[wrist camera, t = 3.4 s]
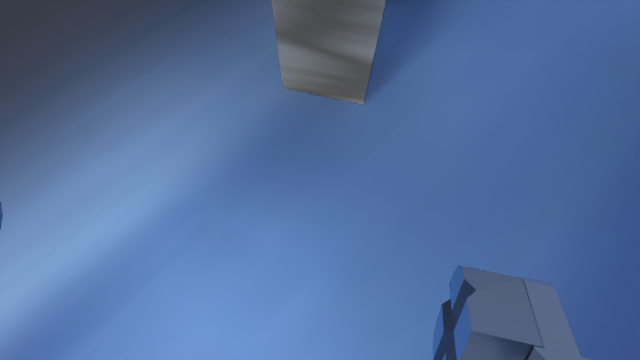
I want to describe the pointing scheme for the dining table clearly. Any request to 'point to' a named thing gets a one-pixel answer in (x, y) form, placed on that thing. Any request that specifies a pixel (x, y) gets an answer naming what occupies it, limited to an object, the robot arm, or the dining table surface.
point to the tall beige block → (327, 45)
